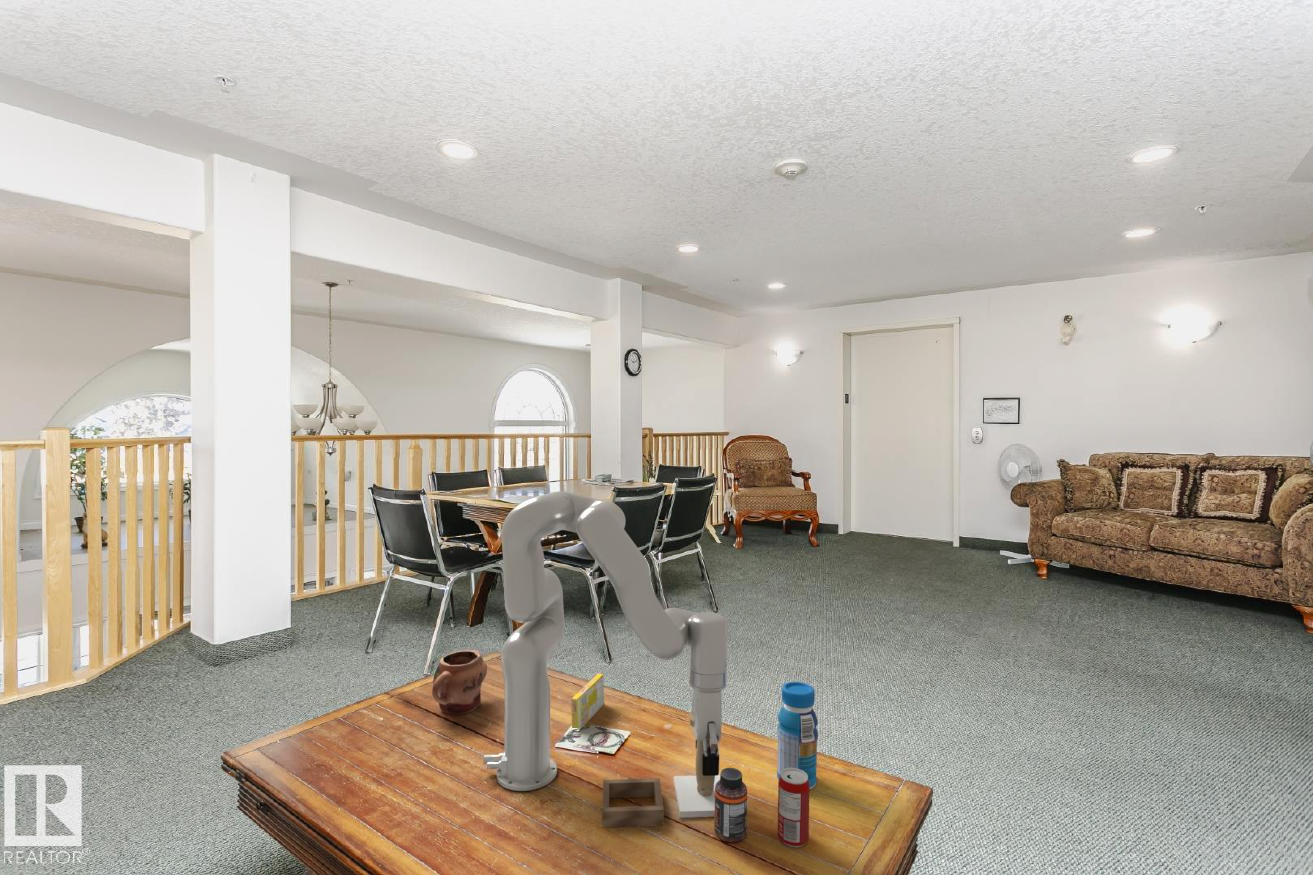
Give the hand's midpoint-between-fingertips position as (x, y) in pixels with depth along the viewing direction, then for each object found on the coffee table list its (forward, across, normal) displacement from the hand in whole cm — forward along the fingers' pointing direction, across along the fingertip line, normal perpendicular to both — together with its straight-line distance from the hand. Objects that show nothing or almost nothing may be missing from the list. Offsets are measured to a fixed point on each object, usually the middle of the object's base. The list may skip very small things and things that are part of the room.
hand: (706, 761), depth 126 cm
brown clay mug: (+8, -41, -59) cm, 72 cm away
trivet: (+7, 0, 0) cm, 7 cm away
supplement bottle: (+8, +11, +3) cm, 14 cm away
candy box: (+8, -36, -25) cm, 45 cm away
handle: (+6, 0, 0) cm, 7 cm away
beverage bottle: (+8, -5, +20) cm, 22 cm away
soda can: (+8, +13, +14) cm, 21 cm away
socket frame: (+7, +3, -15) cm, 17 cm away
